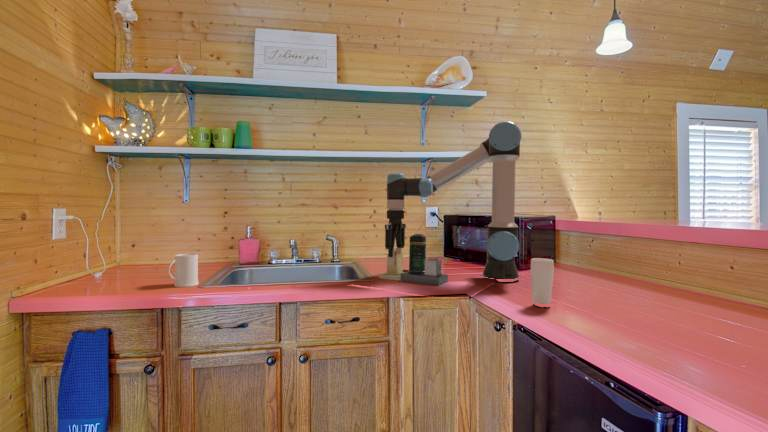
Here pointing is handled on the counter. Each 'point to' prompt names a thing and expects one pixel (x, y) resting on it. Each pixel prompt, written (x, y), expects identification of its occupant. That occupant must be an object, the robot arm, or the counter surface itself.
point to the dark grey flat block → (423, 278)
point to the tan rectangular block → (398, 266)
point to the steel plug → (433, 267)
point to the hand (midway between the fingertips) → (395, 263)
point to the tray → (389, 277)
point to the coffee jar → (417, 252)
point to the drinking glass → (542, 279)
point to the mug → (185, 270)
